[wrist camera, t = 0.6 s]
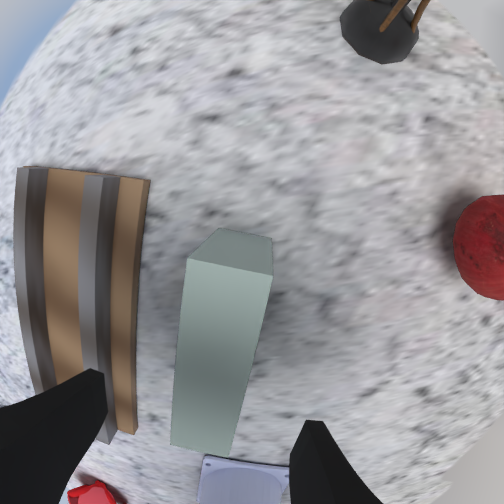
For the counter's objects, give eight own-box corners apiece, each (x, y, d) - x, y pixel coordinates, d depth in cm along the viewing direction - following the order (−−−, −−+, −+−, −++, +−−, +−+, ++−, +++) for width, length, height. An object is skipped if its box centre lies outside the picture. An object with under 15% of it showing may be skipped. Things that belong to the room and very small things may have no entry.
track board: (137, 427, 21) (125, 451, 18) (45, 388, 21) (29, 406, 18) (150, 180, 17) (128, 180, 14) (32, 166, 17) (4, 166, 14)
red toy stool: (57, 490, 22) (80, 527, 20) (59, 492, 19) (85, 535, 17) (105, 474, 29) (127, 510, 26) (115, 474, 25) (140, 514, 23)
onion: (414, 246, 17) (495, 288, 9) (458, 172, 15) (547, 176, 8) (464, 292, 17) (536, 342, 9) (503, 225, 16) (582, 250, 8)
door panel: (239, 380, 19) (228, 457, 13) (196, 371, 19) (170, 444, 13) (271, 238, 17) (273, 275, 10) (219, 227, 17) (187, 258, 10)
